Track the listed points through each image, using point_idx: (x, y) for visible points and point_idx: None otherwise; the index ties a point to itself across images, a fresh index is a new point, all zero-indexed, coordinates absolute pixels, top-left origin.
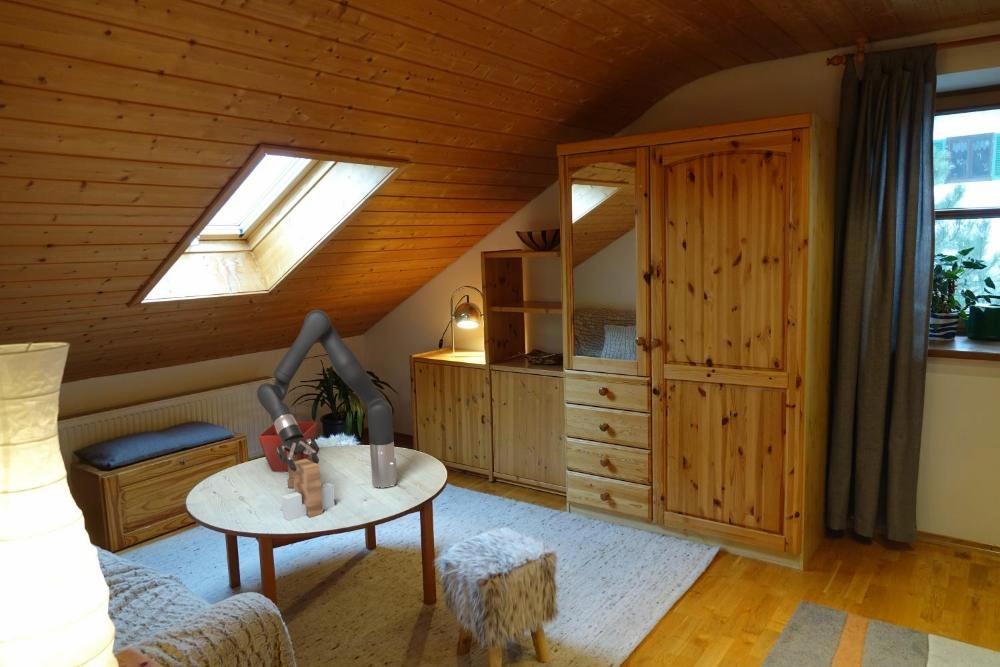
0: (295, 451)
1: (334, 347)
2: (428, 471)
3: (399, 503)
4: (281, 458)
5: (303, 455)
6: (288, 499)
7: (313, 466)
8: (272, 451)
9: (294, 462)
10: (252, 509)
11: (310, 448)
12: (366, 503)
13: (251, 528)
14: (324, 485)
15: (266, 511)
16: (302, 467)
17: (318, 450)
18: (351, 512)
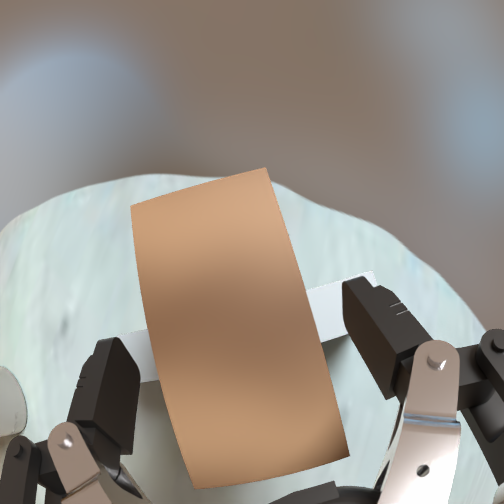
0: (344, 493)
1: None
2: None
3: (24, 239)
4: (495, 413)
5: None
6: (362, 273)
7: (188, 189)
8: None
9: (335, 431)
10: None
11: (75, 489)
12: (71, 294)
13: (449, 290)
14: (152, 358)
15: (392, 422)
16: (288, 241)
17: (26, 438)
18: (131, 247)
